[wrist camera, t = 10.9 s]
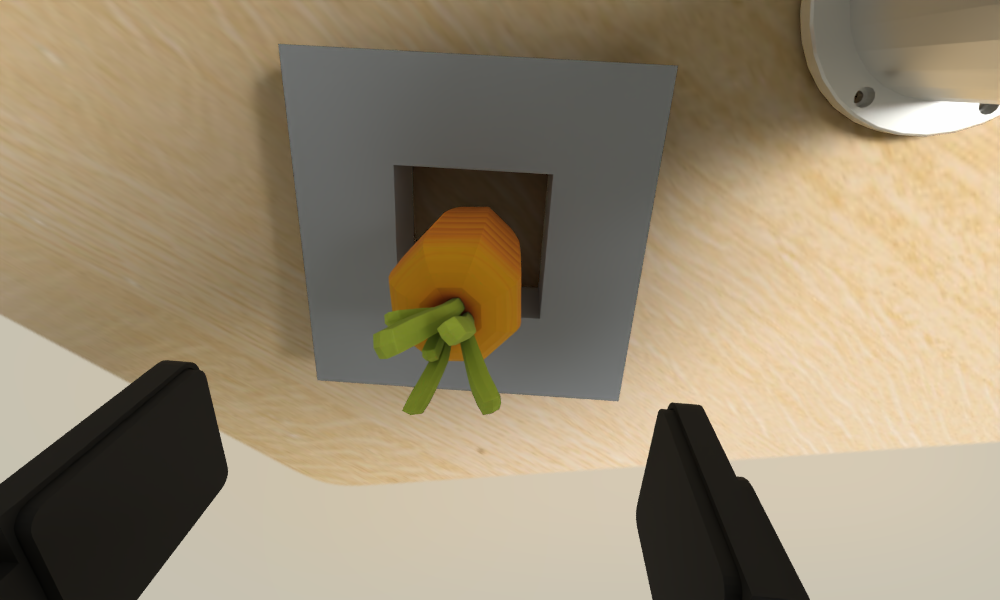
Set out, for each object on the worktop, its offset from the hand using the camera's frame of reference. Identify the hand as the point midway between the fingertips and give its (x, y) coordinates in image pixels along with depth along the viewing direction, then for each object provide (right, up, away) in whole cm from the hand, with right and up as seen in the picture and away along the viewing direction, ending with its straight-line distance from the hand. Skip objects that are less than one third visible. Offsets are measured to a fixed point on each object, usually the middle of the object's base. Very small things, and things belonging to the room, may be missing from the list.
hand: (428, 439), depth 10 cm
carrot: (0, +7, +17) cm, 18 cm away
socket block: (0, +7, +16) cm, 18 cm away
